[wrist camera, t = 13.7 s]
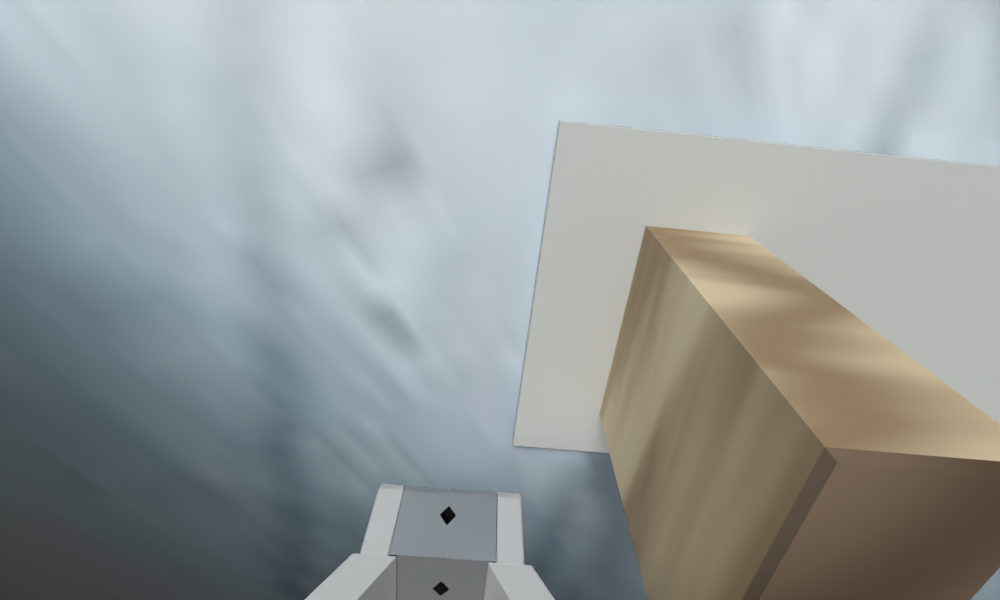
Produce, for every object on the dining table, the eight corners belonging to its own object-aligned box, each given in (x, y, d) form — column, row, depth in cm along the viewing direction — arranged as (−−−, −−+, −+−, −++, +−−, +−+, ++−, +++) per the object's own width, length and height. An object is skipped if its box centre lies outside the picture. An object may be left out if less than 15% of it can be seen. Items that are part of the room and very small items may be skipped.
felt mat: (1174, 184, 15) (1190, 187, 15) (959, 474, 21) (966, 481, 21) (558, 120, 15) (560, 121, 14) (512, 438, 21) (512, 445, 20)
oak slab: (749, 235, 16) (1076, 482, 7) (683, 421, 20) (840, 743, 10) (645, 225, 16) (837, 462, 7) (599, 413, 19) (682, 733, 10)
